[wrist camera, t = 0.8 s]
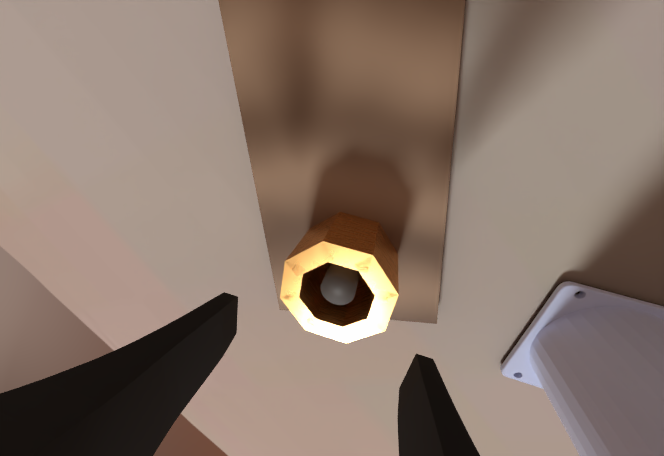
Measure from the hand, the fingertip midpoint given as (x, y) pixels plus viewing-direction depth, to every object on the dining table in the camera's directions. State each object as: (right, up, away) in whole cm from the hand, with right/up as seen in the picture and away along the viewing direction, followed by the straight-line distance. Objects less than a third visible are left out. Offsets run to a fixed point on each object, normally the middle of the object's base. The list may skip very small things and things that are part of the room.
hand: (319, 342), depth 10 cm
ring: (+2, +3, +6) cm, 7 cm away
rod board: (+1, +10, +4) cm, 11 cm away
